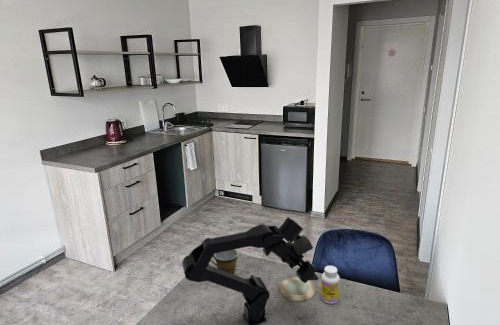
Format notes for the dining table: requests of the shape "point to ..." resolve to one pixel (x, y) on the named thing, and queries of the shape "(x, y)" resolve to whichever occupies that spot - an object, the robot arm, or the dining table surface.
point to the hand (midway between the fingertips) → (311, 271)
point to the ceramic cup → (226, 260)
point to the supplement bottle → (330, 285)
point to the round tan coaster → (297, 289)
